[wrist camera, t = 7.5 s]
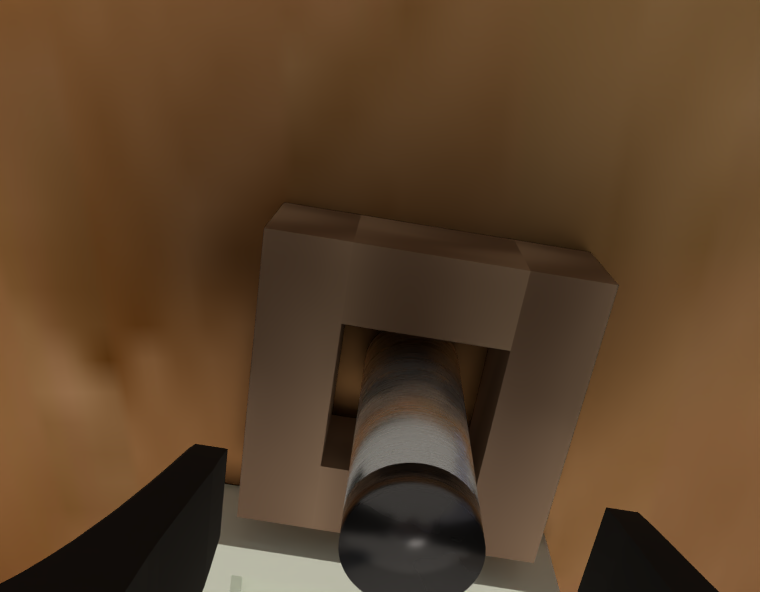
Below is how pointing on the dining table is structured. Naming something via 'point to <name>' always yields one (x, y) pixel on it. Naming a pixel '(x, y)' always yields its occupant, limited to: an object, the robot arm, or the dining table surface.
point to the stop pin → (411, 474)
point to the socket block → (425, 319)
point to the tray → (329, 560)
